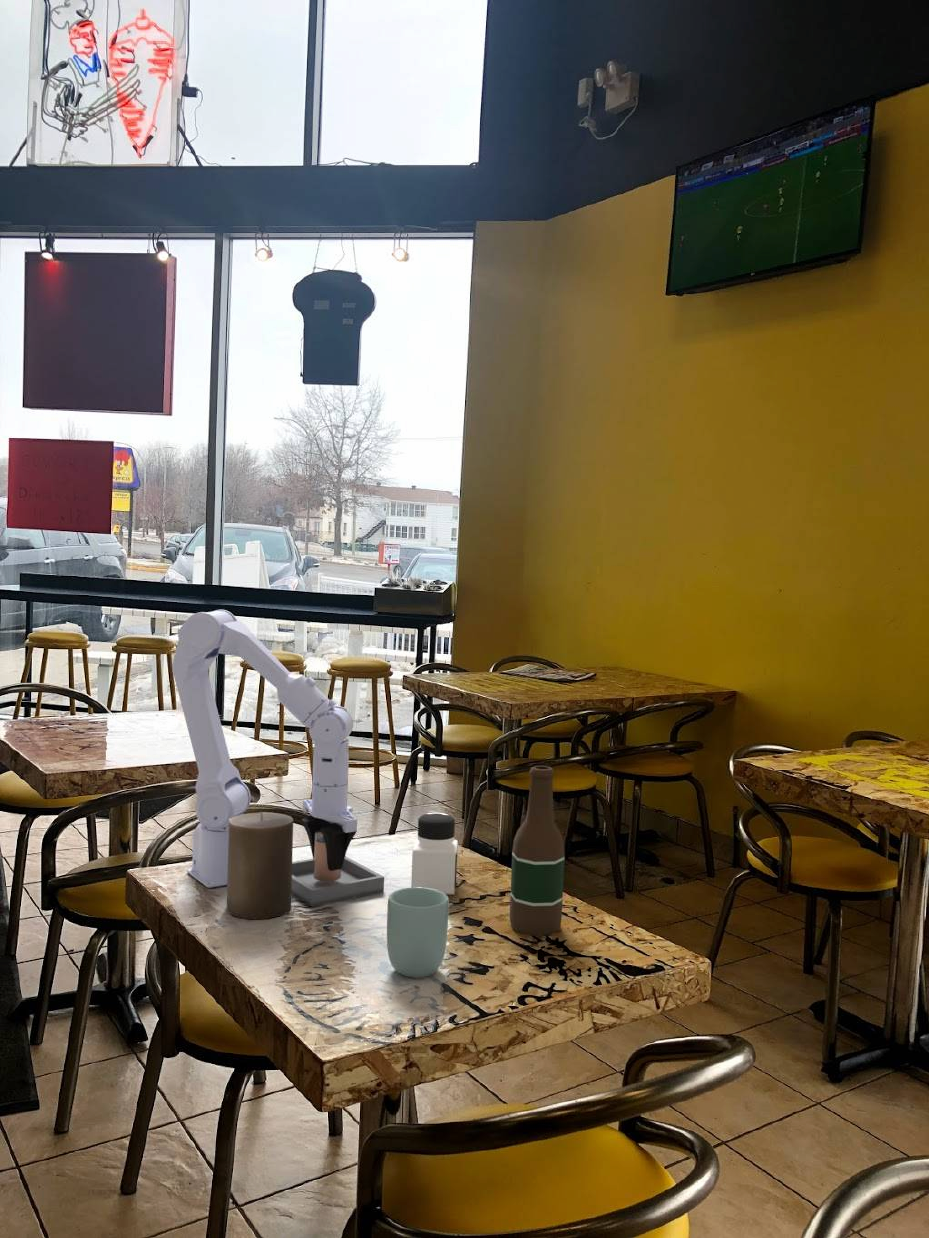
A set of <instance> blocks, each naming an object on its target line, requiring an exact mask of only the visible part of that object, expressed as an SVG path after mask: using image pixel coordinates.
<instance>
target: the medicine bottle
mask: <svg viewBox="0 0 929 1238" xmlns="http://www.w3.org/2000/svg"><path fill="white" fill-rule="evenodd" d="M417 823H418V824H417V838H415V840H414V844H413V849H412V856H411V857H412V858H411V859H412V860H411V881H410V882H411V883H410V884H411V886H410V888H411V887H423V888H430V889H434V890H438V891H440V892H443V893H444V894H446V895H447V896H448V895H451V896H452V895H455V894H456V890H457V889H456V888H457V886H456V885H457V875H458V874H457V871H458V868H457V867H458V866H457V865H458V845H459V841H458V840H457V839H455V833H456V832H455V829H456V819H455V818H454V817H453V816H452V815H449V814H447V813H444V812H428V813H425V814H423V815H421V816H419V818H418V820H417Z"/></svg>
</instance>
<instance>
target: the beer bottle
mask: <svg viewBox="0 0 929 1238" xmlns="http://www.w3.org/2000/svg"><path fill="white" fill-rule="evenodd" d="M529 775H530V782H529V783H530V784H529V793H528V800H527V802H528V803H527V811H526V813H525V814H526V815H525V819H524V821H523V822H522V824H521V825H520V826H519V828H517V831H516V834H515V836H514V838H513V842H512V843H513V844H512V850H511V851H512V853H511V870H510V871H511V872H510V873H511V874H510V875H511V876H510V892H509V893H510V897H509V922H510V925H511V926H512V928H513V929H514V931H515V932H518V933H522V934H525V935H528V936H533V937H534V936H551V935H552V934H554V933H555V932H557V931H559V930H560V929H561V926H562V925H561V924H562V917H563V901H564V900H563V899H564V896H563V895H564V876H565V875H564V873H565V857H566V856H565V842H564V839H563V835H562V833H561V831H560V830H559V828H558V826H557V824H556V823H555V817H554V816H555V815H554V798H553V797H554V792H553V788H554V786H553V785H554V783H553V780H554V779H553V778H554V777H555V770H554V769H553V768H552V767H550V766H547V765H534V766H533V767H530V769H529Z"/></svg>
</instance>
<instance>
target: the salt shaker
mask: <svg viewBox="0 0 929 1238" xmlns="http://www.w3.org/2000/svg"><path fill="white" fill-rule="evenodd" d="M314 878H315V879H316V880H319V881H335V880H338V879H340V878H341V869H339V870H333V871H330V870H329V869H328V865H327V851H326V845H325V840H324V837H323V835H322V832H321V829H317V830H316V831H315V851H314Z"/></svg>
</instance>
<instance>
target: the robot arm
mask: <svg viewBox="0 0 929 1238" xmlns="http://www.w3.org/2000/svg"><path fill="white" fill-rule="evenodd" d="M177 637H178V640H177V645H176V649H175V653H174V657H173V660H172V673H173V677H174V682H175V686H176V689H177V693H178V697H179V699H180V700H179V701H180V704H181V709H182V712H183V716H184V721H185V724H186V727H187V731H188V735H189V738H190V739H189V740H190V744H191V747H192V750H193V751H192V752H193V755H194V758H195V762H196V765H197V767H196V768H197V770H198V776H197V779H196V784H195V787H194V788H195V792H196V803H195V815H196V818H197V820H198V822H199V823H198V824H197V826H196V828H195V829H194V832H193V835H192V866H191V868H187V869H186V872H187V873H188V874H189V875H191V877H193V878H194V879H196V880H197V881H199V882H200V883H201V884H203V886H205V887H206V888H216V887H222V886H227V871H228V868H227V865H228V841H229V819H230V818H233V817H235V816H238V815H242V814H245V813H244V812H246V811H247V810H248V808H249V807H250V804H251V801H252V799H251V798H252V796H251V795H252V794H251V791H250V789H249V787H248V786H247V784H245V783H244V781H243V780H242V778H241V775H240V771H239V769H238V768H237V767H236V766H235V765H234V764H233V763H232V761H231V758H230V754H229V750H228V746H227V741H226V738H225V734H224V731H223V726H222V723H221V718H220V716H219V712H218V711H219V710H218V707H217V703H216V699H215V696H214V692H213V687H212V684H211V680H210V676H209V675H210V674H209V669H210V668H211V666H212V664H213V663H214V662H215V660H216V659H217V657H218V656H219V654H221V655H227V656H235V657H239V658H240V659H242V660H243V661H244V662H245V663H247V665H249V666H250V667H251V668H253V670H254V671H256V672H257V673H258V674H260V676H262V677H263V678H264V679H265V680H266V681H267V682H268V683H270V684H271V685H272V686H273V687H274V688H275V689H276V691H277V692H276V693H277V701H278V702H279V703H280V704H281V705H282V706H283V707H285V709H287V710H288V712H290V714H291V715H293V716H294V717H295V718H296V719H297V721H299V722H300V723H301V724H302V725H303V726H305V728H309V729H308V732H309V735H310V738H311V740H312V742H313V744H314V745H313V747H314V748H313V755H312V758H313V759H312V786H311V799H303V801H302V812H303V813H308V814H309V816H308V817H304V818H302V819H301V824H302V826H303V828H304V829H305V832H306V834H307V837H308V841H309V845H310V850H311V855H312V859H313V860H314V851H315V831H316V830H317V829H321V832H322V835H323V837H324V840H325V845H326V851H327V865H328V869H329V870H330V871H333V870H339V869H342V865H343V862H344V858H345V856H346V854H347V851H348V849H349V846H350V844H351V841H352V839H353V838H354V836H355V835H356V834H357V831H358V819H357V818H355V816H353V814H352V813H353V812H354V808H353V807H352V806H350V805H348V796H349V795H348V791H349V788H348V787H349V764H350V763H349V762H350V759H349V758H350V754H349V744H350V743H349V742H350V741H349V739H348V738H349V736H350V734H351V733H352V731H353V727H354V721H353V718H352V715H351V714H350V713H349V711H348V710H347V708H346V707H344V706H341V705H337V702H336V700H334V699H333V698H331V699H329V698H328V697H327V696H326V695H325V694H324V693H323V692H322V691H321V690H320V689H319V688H318V687H316V685H315V684H316V682H317V681H316V680H315V679H314V678H313V677H311V676H309V677H306V676H305V675H304V674H293V673H291V672H290V671H289V670H288V669H287V668H286V667H285V666H284V665H283V663H282V662H280V661H279V659H278V658H277V657H276V656H275V655H274V654H273V653H272V652H271V651H270V650H269V649H268V648H267V647H266V646H265V645H264V643H262V642H261V641H260V639H259V638H257V637H256V635H255V634H254V633H253V632H252V630H250V628H249V627H248V626H247V625H246V624H245V622H242V621H241V620H238V619H237V617H236V616H235V615H234V614H233V613H232V612H230V611H228V610H227V609H226V610H225V609H216V610H213V611H208V612H205V611H200V612H196V613H193V614H191V615H190V616H188V618H187V619H186V620H185V621H184V622H183V624H182V625H181V626H180V627H179V629H178V630H177Z"/></svg>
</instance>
